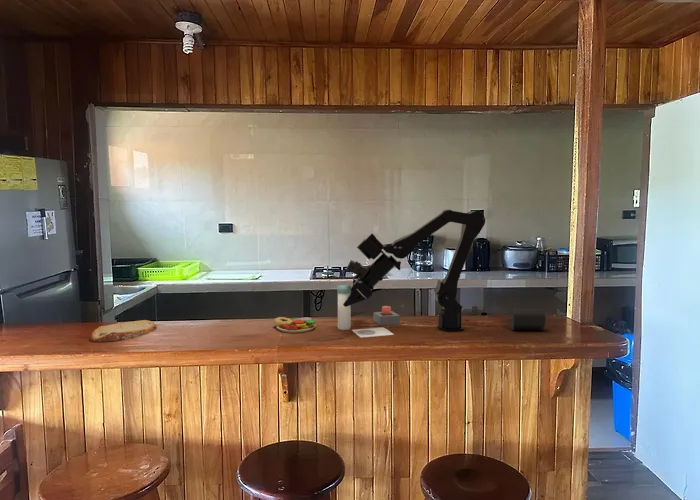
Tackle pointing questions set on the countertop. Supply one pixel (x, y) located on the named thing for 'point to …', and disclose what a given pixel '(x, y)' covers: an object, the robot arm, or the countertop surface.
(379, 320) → the button housing
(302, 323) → the toy food set
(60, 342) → the countertop surface
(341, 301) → the teal and white bottle
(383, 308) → the button
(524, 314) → the end cap
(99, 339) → the slice of bread
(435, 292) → the robot arm
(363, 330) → the paper
